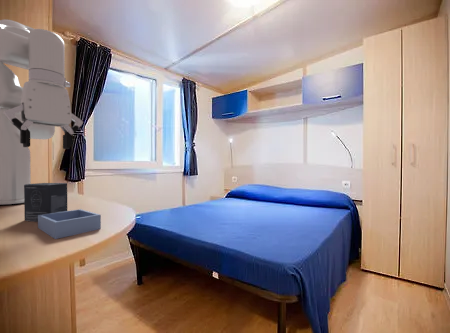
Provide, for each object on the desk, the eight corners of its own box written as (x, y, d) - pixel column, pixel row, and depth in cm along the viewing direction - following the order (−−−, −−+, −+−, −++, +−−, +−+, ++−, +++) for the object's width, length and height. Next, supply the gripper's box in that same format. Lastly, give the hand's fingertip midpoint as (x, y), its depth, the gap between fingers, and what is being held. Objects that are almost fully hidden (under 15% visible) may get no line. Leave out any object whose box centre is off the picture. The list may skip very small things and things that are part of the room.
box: (68, 220, 64) (68, 182, 64) (49, 226, 58) (49, 184, 58) (44, 219, 65) (43, 182, 65) (23, 224, 60) (23, 183, 60)
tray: (38, 229, 55) (37, 215, 55) (80, 222, 62) (80, 209, 62) (55, 239, 48) (55, 222, 48) (100, 229, 56) (100, 214, 56)
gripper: (77, 92, 70) (78, 150, 70) (-2, 74, 56) (-2, 146, 56) (89, 87, 66) (89, 149, 66) (5, 66, 52) (6, 145, 52)
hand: (47, 147), depth 61 cm, fingers open, 8 cm apart
